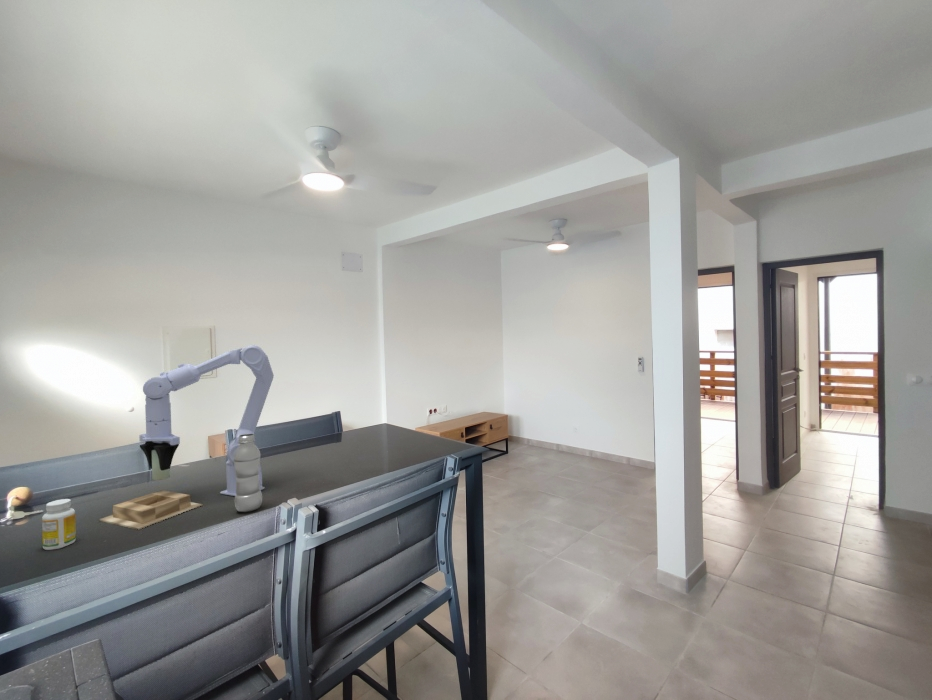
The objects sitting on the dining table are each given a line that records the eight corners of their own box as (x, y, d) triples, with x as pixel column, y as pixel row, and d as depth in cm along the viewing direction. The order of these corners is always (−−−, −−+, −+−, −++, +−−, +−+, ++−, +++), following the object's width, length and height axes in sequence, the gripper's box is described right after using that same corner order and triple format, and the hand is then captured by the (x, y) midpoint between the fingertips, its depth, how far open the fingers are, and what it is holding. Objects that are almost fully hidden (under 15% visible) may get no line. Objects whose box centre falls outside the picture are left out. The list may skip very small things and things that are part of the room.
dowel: (173, 476, 120) (172, 448, 120) (159, 480, 116) (159, 451, 116) (162, 475, 121) (161, 447, 121) (148, 479, 117) (148, 451, 117)
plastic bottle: (268, 506, 114) (266, 433, 114) (247, 516, 108) (245, 438, 108) (249, 504, 117) (247, 431, 116) (228, 513, 110) (226, 437, 110)
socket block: (202, 505, 116) (202, 493, 116) (139, 530, 101) (138, 515, 101) (164, 498, 122) (164, 487, 122) (99, 520, 107) (98, 507, 107)
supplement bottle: (44, 553, 91) (42, 508, 91) (41, 545, 94) (39, 503, 94) (78, 543, 95) (76, 501, 95) (74, 537, 98) (72, 495, 98)
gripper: (126, 421, 117) (128, 470, 117) (159, 424, 111) (161, 475, 112) (154, 417, 124) (155, 463, 124) (186, 419, 118) (188, 468, 118)
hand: (160, 468), depth 118 cm, fingers closed on dowel, 4 cm apart
